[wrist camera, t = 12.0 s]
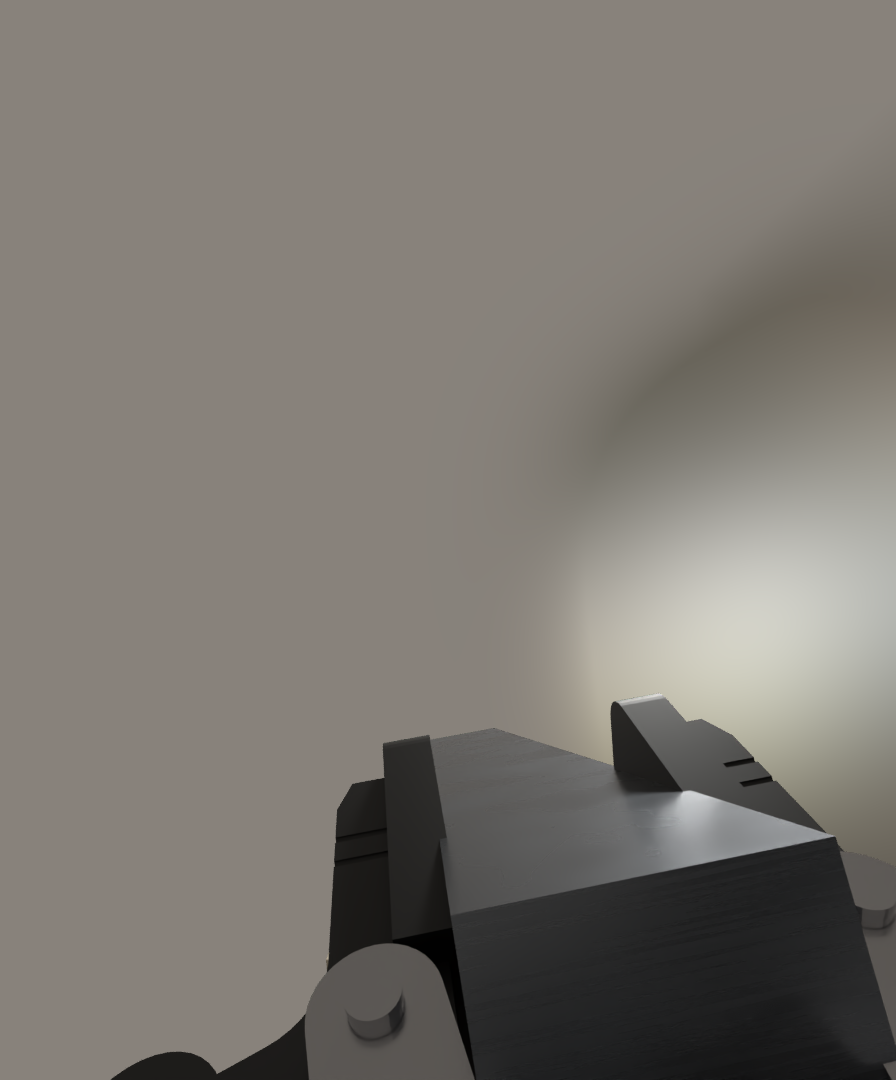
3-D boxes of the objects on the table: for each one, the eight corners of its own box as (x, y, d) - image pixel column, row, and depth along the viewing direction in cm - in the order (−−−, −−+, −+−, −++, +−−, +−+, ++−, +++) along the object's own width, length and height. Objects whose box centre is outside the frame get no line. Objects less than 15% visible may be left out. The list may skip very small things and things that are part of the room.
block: (947, 1226, 4) (834, 835, 5) (516, 1336, 4) (450, 915, 5) (505, 788, 28) (494, 727, 28) (435, 802, 28) (425, 740, 28)
